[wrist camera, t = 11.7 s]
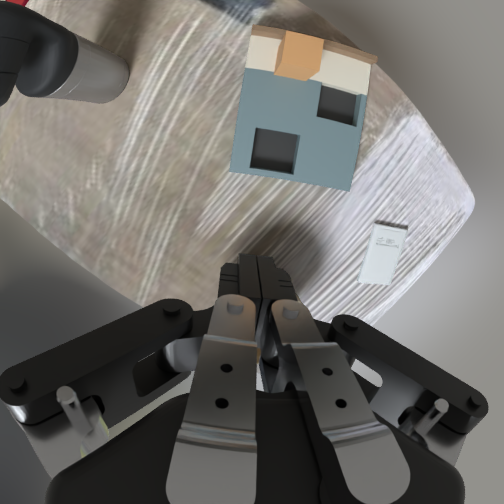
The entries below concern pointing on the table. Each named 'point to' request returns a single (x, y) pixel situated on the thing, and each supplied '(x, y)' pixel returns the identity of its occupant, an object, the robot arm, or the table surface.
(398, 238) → the external hard drive
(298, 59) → the orange block
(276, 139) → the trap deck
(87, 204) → the table surface
